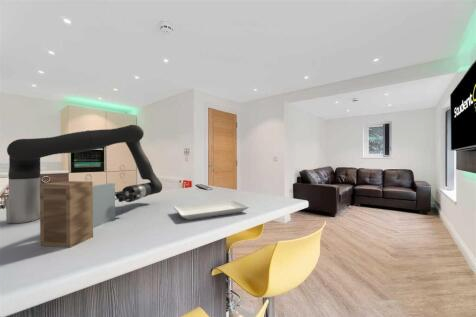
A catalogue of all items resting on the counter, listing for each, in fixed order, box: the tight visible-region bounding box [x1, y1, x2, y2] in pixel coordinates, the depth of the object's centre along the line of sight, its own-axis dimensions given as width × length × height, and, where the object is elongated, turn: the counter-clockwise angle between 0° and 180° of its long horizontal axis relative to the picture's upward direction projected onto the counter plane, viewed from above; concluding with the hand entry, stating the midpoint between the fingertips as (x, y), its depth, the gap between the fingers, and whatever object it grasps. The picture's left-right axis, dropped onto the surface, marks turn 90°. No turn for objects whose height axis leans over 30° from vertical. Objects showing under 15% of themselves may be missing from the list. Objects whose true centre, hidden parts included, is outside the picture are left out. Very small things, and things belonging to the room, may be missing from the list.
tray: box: [173, 199, 250, 221], centre depth 99 cm, size 17×32×4 cm, turn 118°
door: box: [93, 182, 116, 229], centre depth 83 cm, size 12×3×15 cm, turn 172°
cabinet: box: [39, 180, 94, 248], centre depth 68 cm, size 12×12×18 cm
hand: (110, 199), depth 88 cm, fingers open, 8 cm apart
